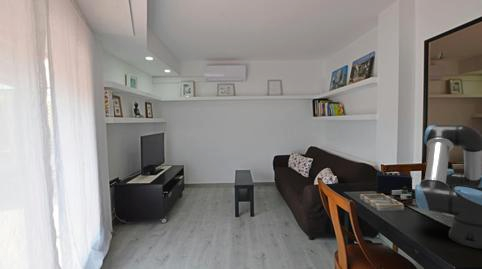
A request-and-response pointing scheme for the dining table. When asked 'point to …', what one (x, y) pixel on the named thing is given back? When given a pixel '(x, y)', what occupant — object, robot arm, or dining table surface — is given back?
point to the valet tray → (381, 202)
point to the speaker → (392, 182)
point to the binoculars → (405, 199)
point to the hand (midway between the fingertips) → (396, 194)
